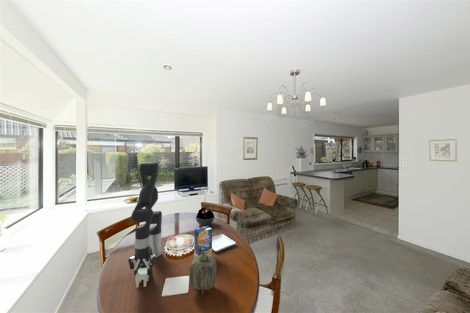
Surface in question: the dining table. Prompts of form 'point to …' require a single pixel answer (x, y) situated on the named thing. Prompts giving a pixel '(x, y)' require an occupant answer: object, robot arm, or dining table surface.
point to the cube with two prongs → (141, 276)
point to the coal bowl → (205, 217)
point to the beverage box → (203, 240)
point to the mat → (176, 286)
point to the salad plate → (221, 242)
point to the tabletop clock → (202, 271)
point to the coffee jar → (146, 267)
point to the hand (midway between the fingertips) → (142, 274)
